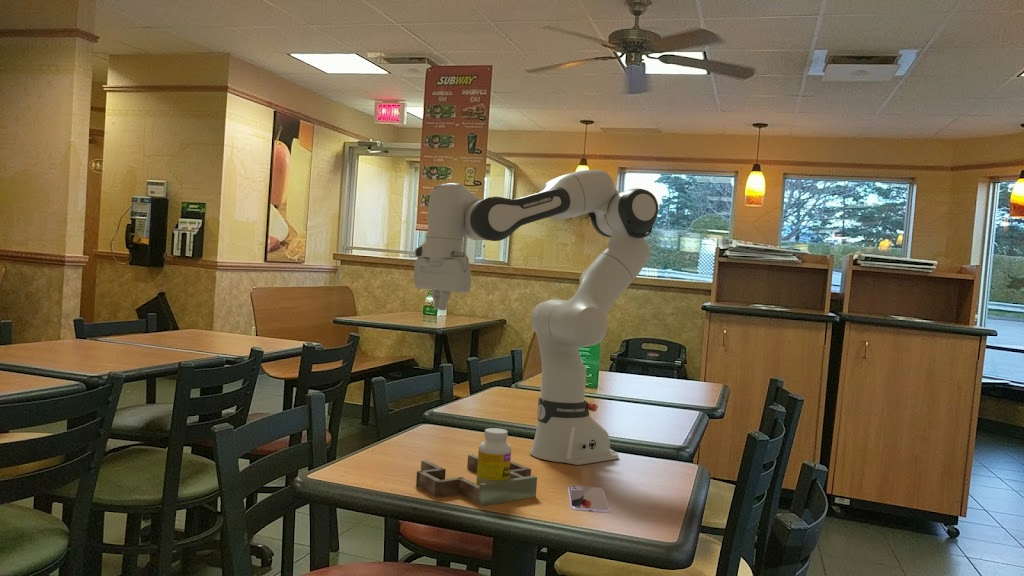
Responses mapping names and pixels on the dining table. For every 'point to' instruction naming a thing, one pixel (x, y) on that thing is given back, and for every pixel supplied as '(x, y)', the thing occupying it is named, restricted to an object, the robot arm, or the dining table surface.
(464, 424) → the dining table surface
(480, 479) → the supplement bottle
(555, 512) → the dining table surface
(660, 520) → the dining table surface
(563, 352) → the robot arm
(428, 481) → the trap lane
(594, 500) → the mobile phone
